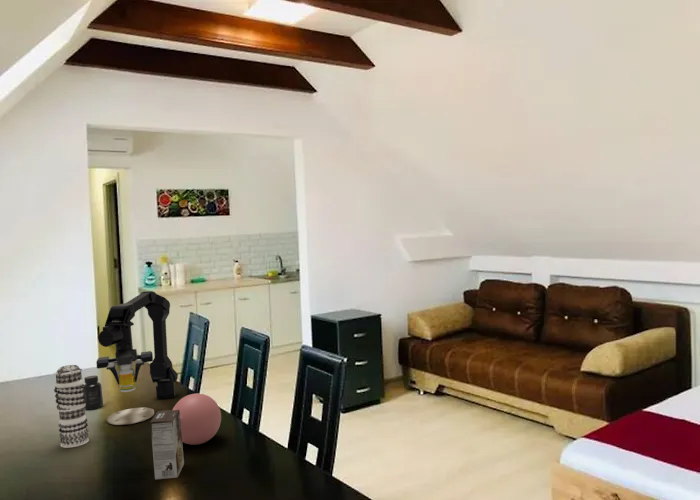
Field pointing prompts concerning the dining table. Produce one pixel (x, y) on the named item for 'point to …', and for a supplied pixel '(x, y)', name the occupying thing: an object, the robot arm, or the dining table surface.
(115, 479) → the dining table surface
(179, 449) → the coffee box
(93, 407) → the supplement bottle
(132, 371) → the supplement bottle
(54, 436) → the dining table surface
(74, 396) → the decorative candle
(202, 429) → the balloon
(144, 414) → the turntable
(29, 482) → the dining table surface
